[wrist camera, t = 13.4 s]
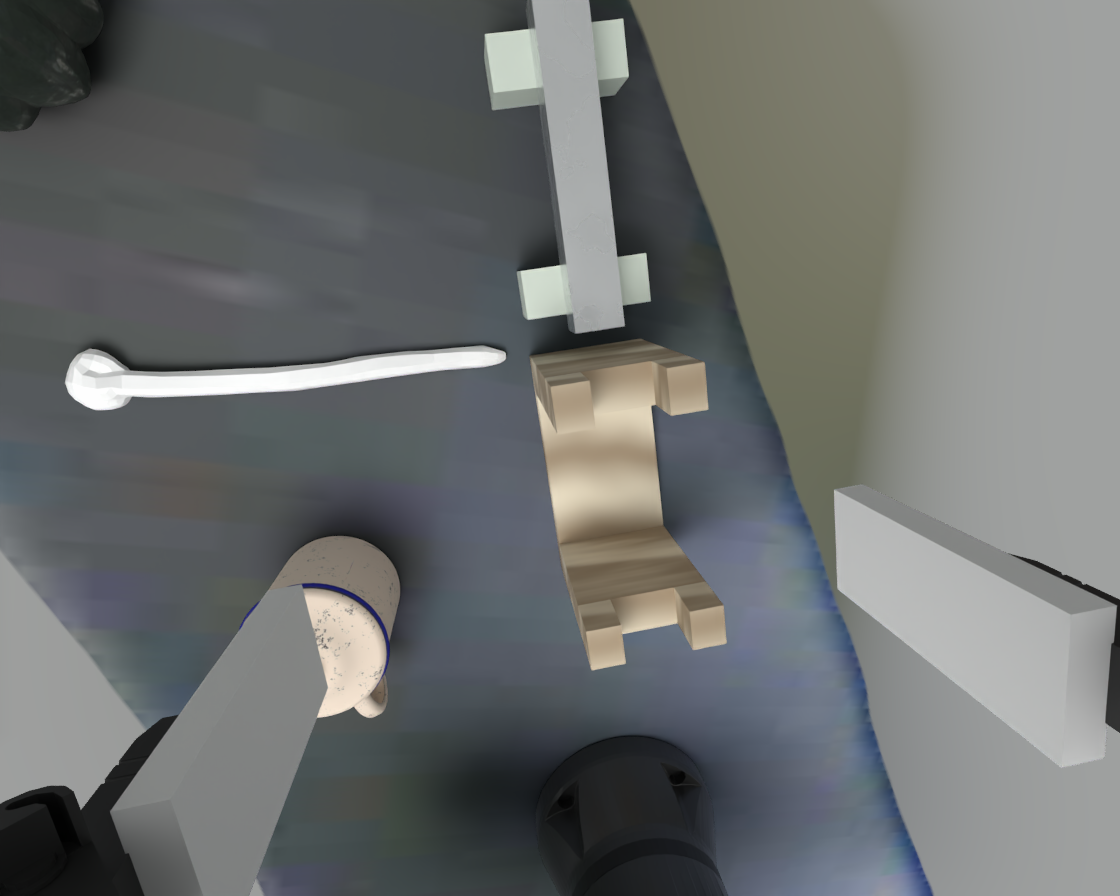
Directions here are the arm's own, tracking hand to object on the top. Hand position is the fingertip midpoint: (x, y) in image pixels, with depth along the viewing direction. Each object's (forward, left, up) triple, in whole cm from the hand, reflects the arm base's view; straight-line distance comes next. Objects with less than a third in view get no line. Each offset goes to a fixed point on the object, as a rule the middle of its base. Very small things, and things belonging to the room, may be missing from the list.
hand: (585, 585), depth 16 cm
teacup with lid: (-14, +15, -31) cm, 37 cm away
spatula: (+4, +14, -32) cm, 35 cm away
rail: (+13, -5, -27) cm, 30 cm away
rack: (-6, -5, -31) cm, 32 cm away
